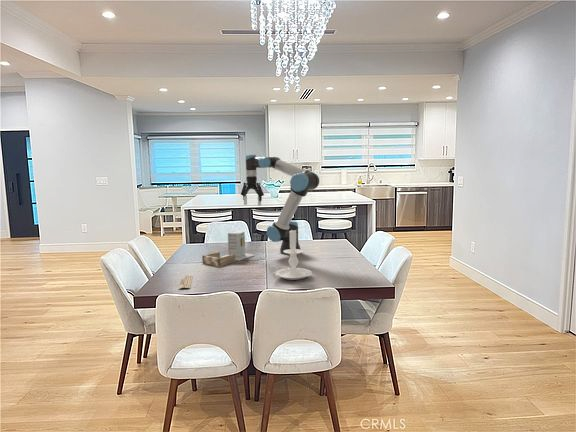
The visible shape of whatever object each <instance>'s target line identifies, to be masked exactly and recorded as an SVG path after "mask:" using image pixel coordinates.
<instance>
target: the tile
mask: <svg viewBox="0 0 576 432" xmlns="http://www.w3.org/2000/svg"><path fill="white" fill-rule="evenodd" d="M228 255H229V254H228V253H227V254H226V255H222V256H221V255H220V258H221V257H225V256H228ZM252 257H255V254H252V253H251V254H250V253H245V255H244V256H242V257H235V262H239V261H242V260H246V259H250V258H252Z"/></svg>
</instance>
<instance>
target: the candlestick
mask: <svg viewBox="0 0 576 432" xmlns="http://www.w3.org/2000/svg"><path fill="white" fill-rule="evenodd" d="M290 248H291V249H288V250H284V251H283V252H284V253H288V254H287V255H289V259H288V261H287V263H288V265H289V266H290V267H287V268H282V269H279V268H278V266H277V265H268V267H269V272H270V273H271V274H272V276H273V277H274V278H279V277H280V278H282V279H284V280H288V281H289V280H290V281H298V280H299V281H300V280H302V279H305V278H307V277H309V276H311V275H312V274H313V273H312V271H311V270H309V269H307V268H302V267H297V266H299V265H298V264H299V258H298V257H297V256H298V255H299V254H301V253H303V252H304V250H303V249H301V250H300V249H296V230H295V231H290ZM273 268H275V269H276V270H275V271H272V270H273Z"/></svg>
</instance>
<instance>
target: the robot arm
mask: <svg viewBox="0 0 576 432" xmlns="http://www.w3.org/2000/svg"><path fill="white" fill-rule="evenodd" d="M258 168H259V169H260V168H261V169H264V168H265V169H266V168H267V169H268V168H272V169H274V170H277V171H279V172H281V173H284V174H286V175H287V176H289V177H291V178H290V181H289V184H290V185H289V186H290V188H289V190H290V193H289V195H288V198H286V199H287V200H286V201H285V203H284V206H283V208H282V209H281V211H280V214H279V216H278V218H277V219H275V220H274V221H273V223H272V225H269V226H268V227H267V229H266V235H267V238H268V239H269V240H270V241H271V242H272V243H273V242H274V243H278V242H281V246H280V248H279V249H280V250H279V251H280V253H281V254H283V255H289V254H288V253H284V252H283V251H284V250H288V249H291V248H290V231H295V230H296V249H300V250H302V249H301V246H300V243H299V222H297V221H294V220H293V221H292V219H293V217H294V215H295V213H296V211H297V209H298V207H299V206H300V203H301V201H302V199H303V198H304V197H306V196H307V194H308V192H309V191H312V190H315V189H316V188H318V186H319V184H320V177H319V176H318V174H316V172H313V171H311V170H304V169H303V168H300V167H297V166H295V165H293V164H291V163H288V162H286V161H283V160H281V158H280V157H277V156H270V157H269V156H258V157H257V155H256V154H246V155H245V171H246V172H245V174H246V175H245V176H246V182H243V187H242V188H241V192H240V195H241V196H242V200H243V206H247V205H248V196H247V194H248V193H249V191H250V190H254V191H255V193H256V194H257V206H258V207H260V206H262V201H263V200H262V199H263V198H262V197H264V196H265V194H264V191H263V188H262V186H261V183H260V182H257V181H258V177H257V174H258V173H257V171H258V170H257V169H258Z"/></svg>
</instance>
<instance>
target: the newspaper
mask: <svg viewBox="0 0 576 432" xmlns="http://www.w3.org/2000/svg"><path fill="white" fill-rule="evenodd" d="M193 277H194V275H192V274H191V275H190V274H186V275H183V276H181V281H180V283H179V286H178V290H179V289H180V290H181V289H189V290H190V289H191V286H192V281H193Z"/></svg>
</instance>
